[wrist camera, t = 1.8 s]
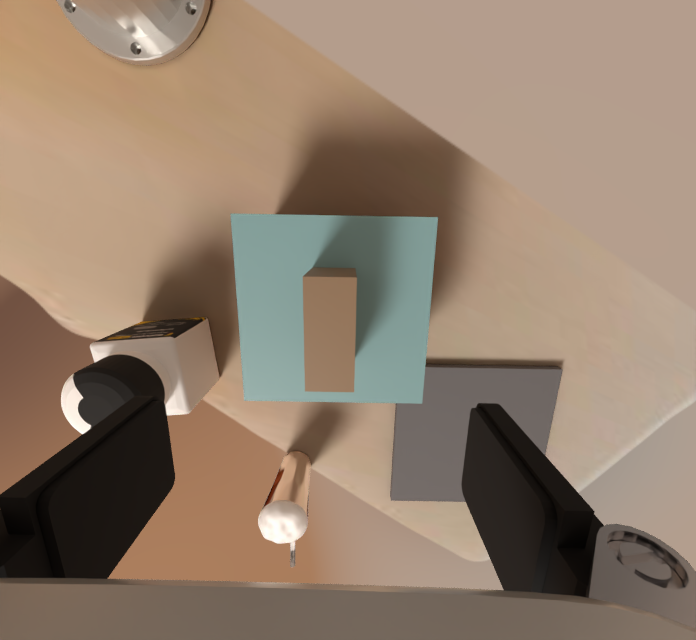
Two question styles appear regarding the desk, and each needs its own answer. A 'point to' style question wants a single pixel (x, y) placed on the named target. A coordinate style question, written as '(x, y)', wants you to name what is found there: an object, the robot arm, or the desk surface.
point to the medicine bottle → (143, 370)
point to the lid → (333, 306)
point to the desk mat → (463, 423)
